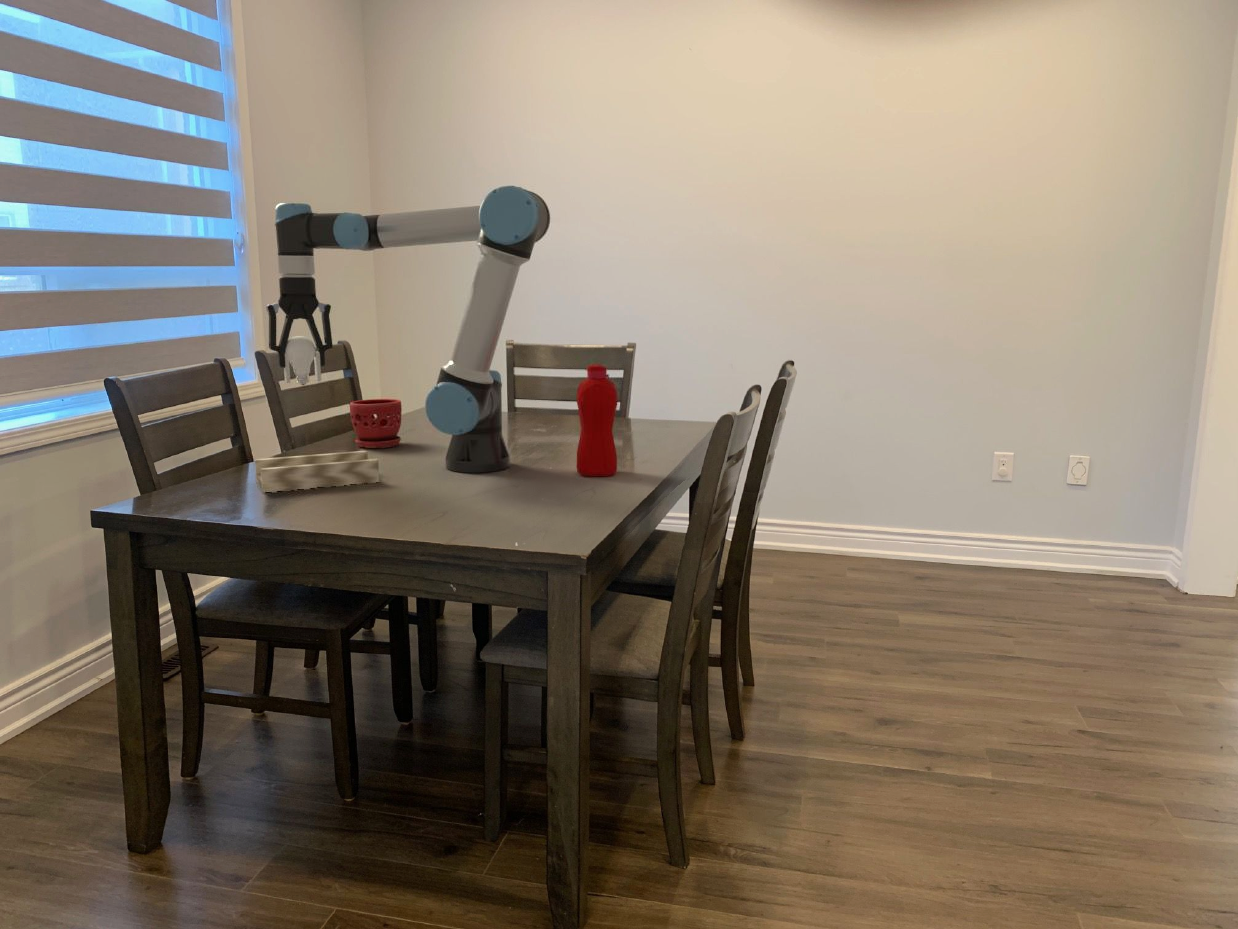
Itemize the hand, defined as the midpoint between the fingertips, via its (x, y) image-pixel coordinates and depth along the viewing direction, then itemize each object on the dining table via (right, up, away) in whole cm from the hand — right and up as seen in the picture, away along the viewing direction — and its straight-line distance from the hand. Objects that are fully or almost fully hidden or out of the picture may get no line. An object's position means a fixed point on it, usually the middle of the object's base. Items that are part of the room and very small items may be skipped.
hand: (303, 381), depth 213 cm
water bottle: (+67, -21, +6) cm, 70 cm away
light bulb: (0, -1, 0) cm, 1 cm away
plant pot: (+7, -14, +38) cm, 41 cm away
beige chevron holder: (+5, -22, -5) cm, 24 cm away
